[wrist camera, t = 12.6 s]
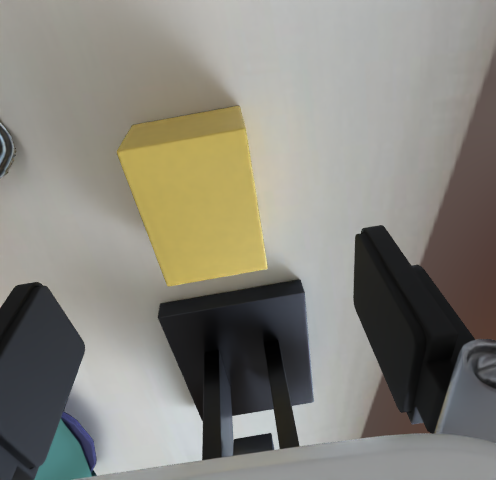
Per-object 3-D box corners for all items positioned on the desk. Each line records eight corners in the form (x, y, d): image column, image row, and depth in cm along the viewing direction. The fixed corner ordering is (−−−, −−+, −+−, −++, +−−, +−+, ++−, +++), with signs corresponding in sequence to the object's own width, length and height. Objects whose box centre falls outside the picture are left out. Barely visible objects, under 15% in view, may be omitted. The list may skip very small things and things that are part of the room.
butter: (239, 104, 16) (245, 127, 13) (259, 231, 20) (267, 269, 17) (131, 124, 16) (115, 151, 14) (173, 247, 20) (167, 287, 18)
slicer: (159, 303, 23) (131, 474, 15) (300, 279, 22) (350, 437, 14) (202, 407, 29) (199, 562, 21) (310, 388, 29) (348, 538, 21)
